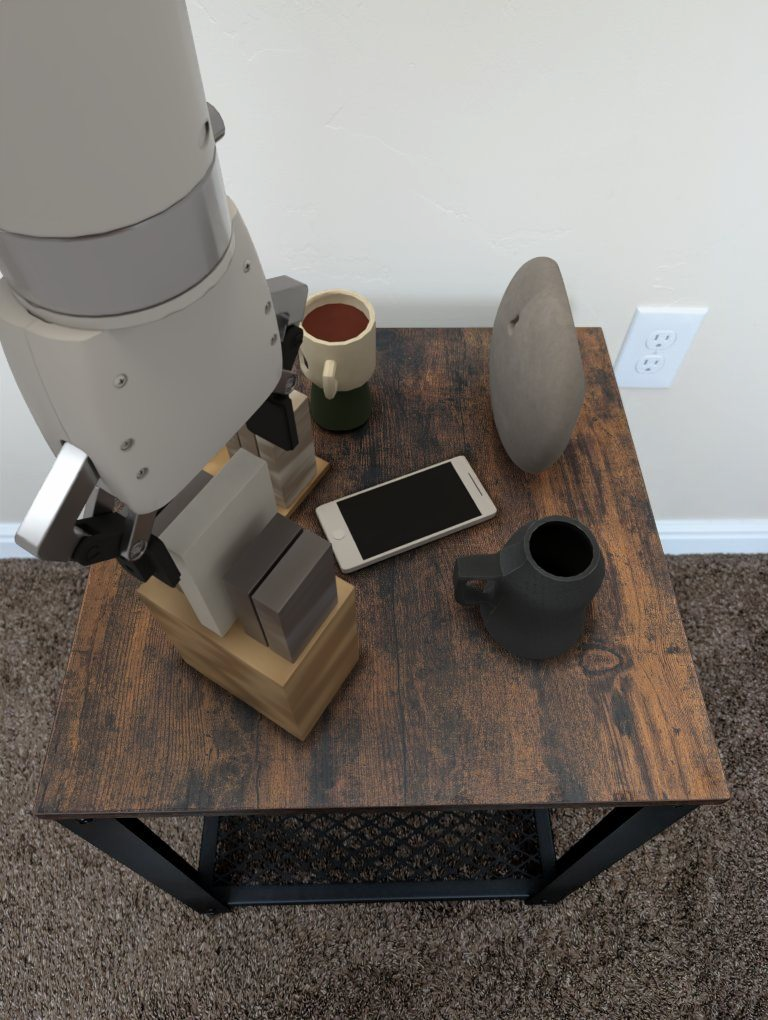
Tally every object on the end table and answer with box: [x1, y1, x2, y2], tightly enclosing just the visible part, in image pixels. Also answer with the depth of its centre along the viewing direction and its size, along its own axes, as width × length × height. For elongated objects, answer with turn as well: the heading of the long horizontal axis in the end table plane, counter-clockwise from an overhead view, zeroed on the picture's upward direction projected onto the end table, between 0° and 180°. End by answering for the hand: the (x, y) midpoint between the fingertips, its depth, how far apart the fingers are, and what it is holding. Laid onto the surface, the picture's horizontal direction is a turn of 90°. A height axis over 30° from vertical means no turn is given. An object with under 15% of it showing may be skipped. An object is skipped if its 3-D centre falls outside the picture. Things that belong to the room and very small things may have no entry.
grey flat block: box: [158, 448, 278, 637], centre depth 42 cm, size 2×7×11 cm, turn 148°
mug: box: [452, 514, 606, 661], centre depth 56 cm, size 12×9×11 cm
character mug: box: [298, 288, 377, 432], centre depth 67 cm, size 11×7×13 cm, turn 174°
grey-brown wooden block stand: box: [203, 389, 330, 519], centre depth 63 cm, size 14×8×12 cm, turn 58°
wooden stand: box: [118, 469, 360, 742], centre depth 49 cm, size 12×8×22 cm, turn 58°
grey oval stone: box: [488, 256, 587, 475], centre depth 63 cm, size 18×7×19 cm, turn 3°
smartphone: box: [315, 455, 498, 574], centre depth 65 cm, size 7×16×1 cm, turn 114°
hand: (217, 499), depth 37 cm, fingers open, 9 cm apart
